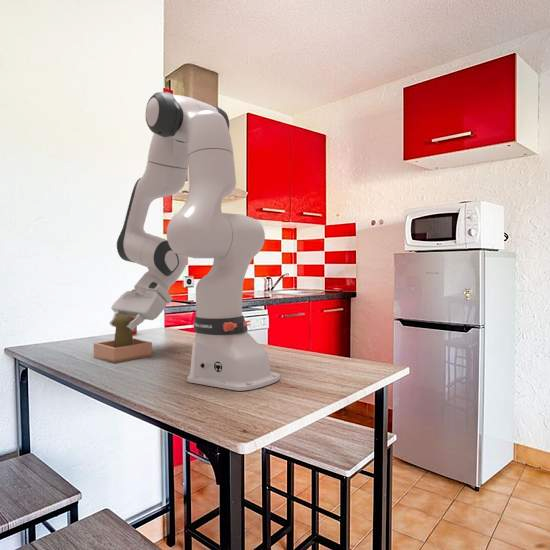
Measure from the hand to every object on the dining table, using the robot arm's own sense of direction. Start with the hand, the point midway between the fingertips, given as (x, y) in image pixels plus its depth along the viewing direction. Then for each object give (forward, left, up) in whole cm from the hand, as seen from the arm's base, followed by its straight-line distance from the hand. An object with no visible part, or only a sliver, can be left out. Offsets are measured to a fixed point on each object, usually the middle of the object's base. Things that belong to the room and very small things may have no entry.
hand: (120, 327), depth 124 cm
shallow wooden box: (0, -1, -9) cm, 9 cm away
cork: (0, -1, -8) cm, 8 cm away
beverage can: (+31, -21, -9) cm, 38 cm away
